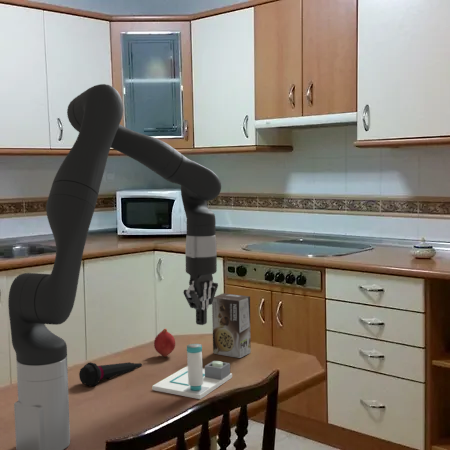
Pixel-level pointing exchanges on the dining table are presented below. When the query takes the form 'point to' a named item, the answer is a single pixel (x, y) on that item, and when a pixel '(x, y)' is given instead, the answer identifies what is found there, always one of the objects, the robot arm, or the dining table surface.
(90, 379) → the microphone
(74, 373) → the dining table surface
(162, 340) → the onion
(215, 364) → the button
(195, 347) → the marker
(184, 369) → the white flat rectangular panel
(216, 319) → the coffee box
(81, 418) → the dining table surface
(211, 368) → the button housing
